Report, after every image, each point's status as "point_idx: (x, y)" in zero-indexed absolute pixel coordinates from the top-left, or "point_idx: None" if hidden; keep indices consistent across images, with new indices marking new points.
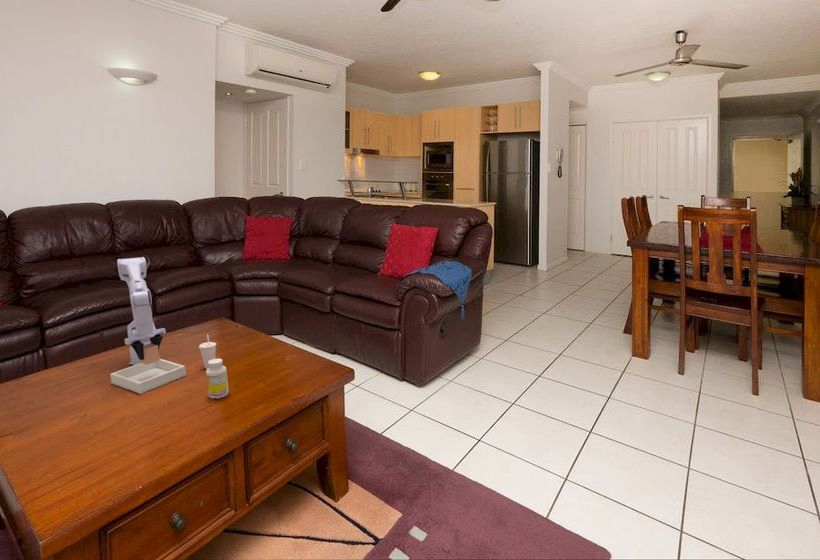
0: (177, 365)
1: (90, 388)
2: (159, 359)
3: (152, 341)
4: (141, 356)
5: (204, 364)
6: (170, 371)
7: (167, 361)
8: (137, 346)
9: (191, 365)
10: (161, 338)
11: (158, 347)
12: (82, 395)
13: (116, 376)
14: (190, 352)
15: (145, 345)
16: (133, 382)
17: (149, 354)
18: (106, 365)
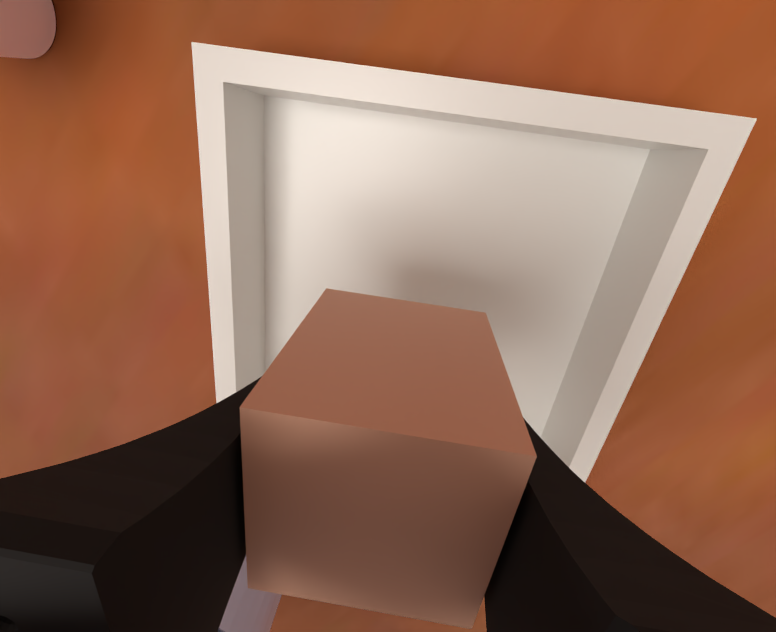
0: (226, 152)
1: (627, 508)
2: (326, 291)
3: (215, 584)
4: (526, 421)
5: (18, 10)
6: (371, 71)
7: (220, 326)
8: (773, 624)
9: (103, 214)
10: (13, 496)
11: (234, 402)
12: (727, 479)
13: (594, 454)
14: (5, 400)
15: (357, 577)
16: (703, 223)
17: (446, 364)
18: (365, 624)
